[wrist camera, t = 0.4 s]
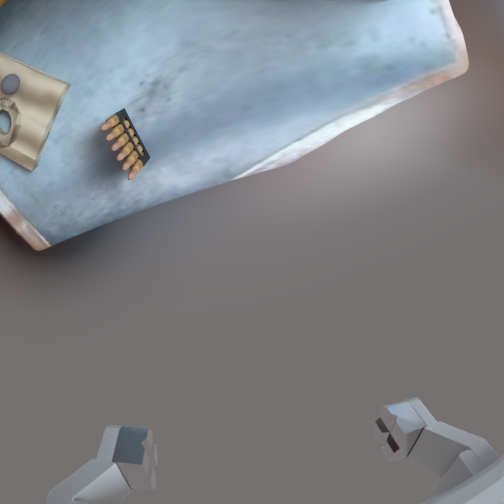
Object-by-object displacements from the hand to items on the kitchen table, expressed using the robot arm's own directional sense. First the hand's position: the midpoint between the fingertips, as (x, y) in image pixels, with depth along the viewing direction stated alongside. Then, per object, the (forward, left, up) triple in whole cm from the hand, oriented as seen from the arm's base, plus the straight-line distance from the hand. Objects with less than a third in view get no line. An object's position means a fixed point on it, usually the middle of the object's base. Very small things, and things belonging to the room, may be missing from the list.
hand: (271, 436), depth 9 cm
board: (+16, -39, -51) cm, 66 cm away
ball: (+10, -39, -46) cm, 61 cm away
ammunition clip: (+10, -12, -51) cm, 53 cm away
